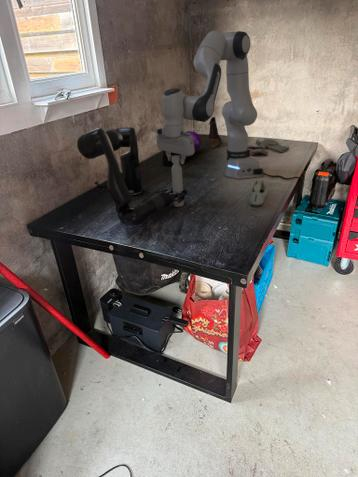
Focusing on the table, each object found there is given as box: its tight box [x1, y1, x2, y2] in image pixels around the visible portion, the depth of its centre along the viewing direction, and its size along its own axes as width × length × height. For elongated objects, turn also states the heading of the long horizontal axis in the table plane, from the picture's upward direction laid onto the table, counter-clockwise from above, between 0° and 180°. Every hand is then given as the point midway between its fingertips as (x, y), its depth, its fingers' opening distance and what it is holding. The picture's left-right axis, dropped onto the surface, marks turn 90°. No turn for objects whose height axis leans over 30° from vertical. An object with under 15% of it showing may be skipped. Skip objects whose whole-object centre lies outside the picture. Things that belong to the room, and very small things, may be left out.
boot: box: [208, 116, 222, 149], centre depth 245 cm, size 9×24×20 cm, turn 168°
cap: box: [172, 155, 180, 164], centre depth 147 cm, size 4×4×2 cm
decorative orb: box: [185, 130, 202, 153], centre depth 230 cm, size 15×15×15 cm
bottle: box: [170, 163, 185, 208], centre depth 152 cm, size 5×5×23 cm
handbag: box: [162, 150, 190, 167], centre depth 211 cm, size 21×9×25 cm, turn 148°
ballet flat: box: [249, 179, 269, 207], centre depth 158 cm, size 8×24×8 cm, turn 163°
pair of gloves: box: [247, 138, 290, 156], centre depth 228 cm, size 30×26×5 cm
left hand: (181, 190), depth 156 cm, fingers closed on bottle, 5 cm apart
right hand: (176, 162), depth 148 cm, fingers open, 6 cm apart
